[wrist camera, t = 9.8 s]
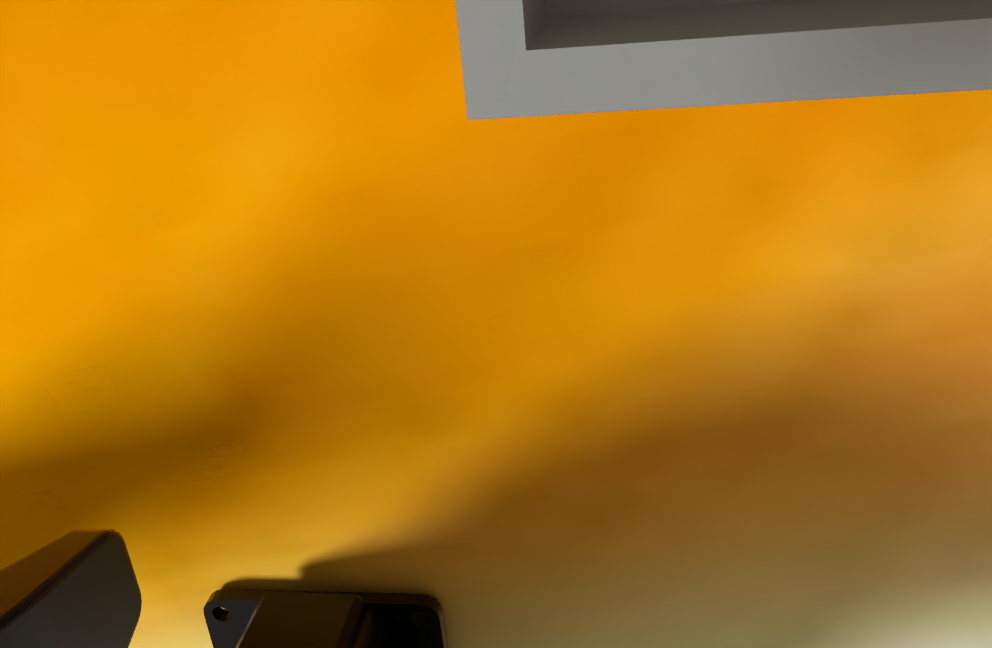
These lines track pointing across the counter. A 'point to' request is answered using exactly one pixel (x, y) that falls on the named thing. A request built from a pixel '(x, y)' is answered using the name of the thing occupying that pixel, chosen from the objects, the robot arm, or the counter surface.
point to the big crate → (713, 52)
